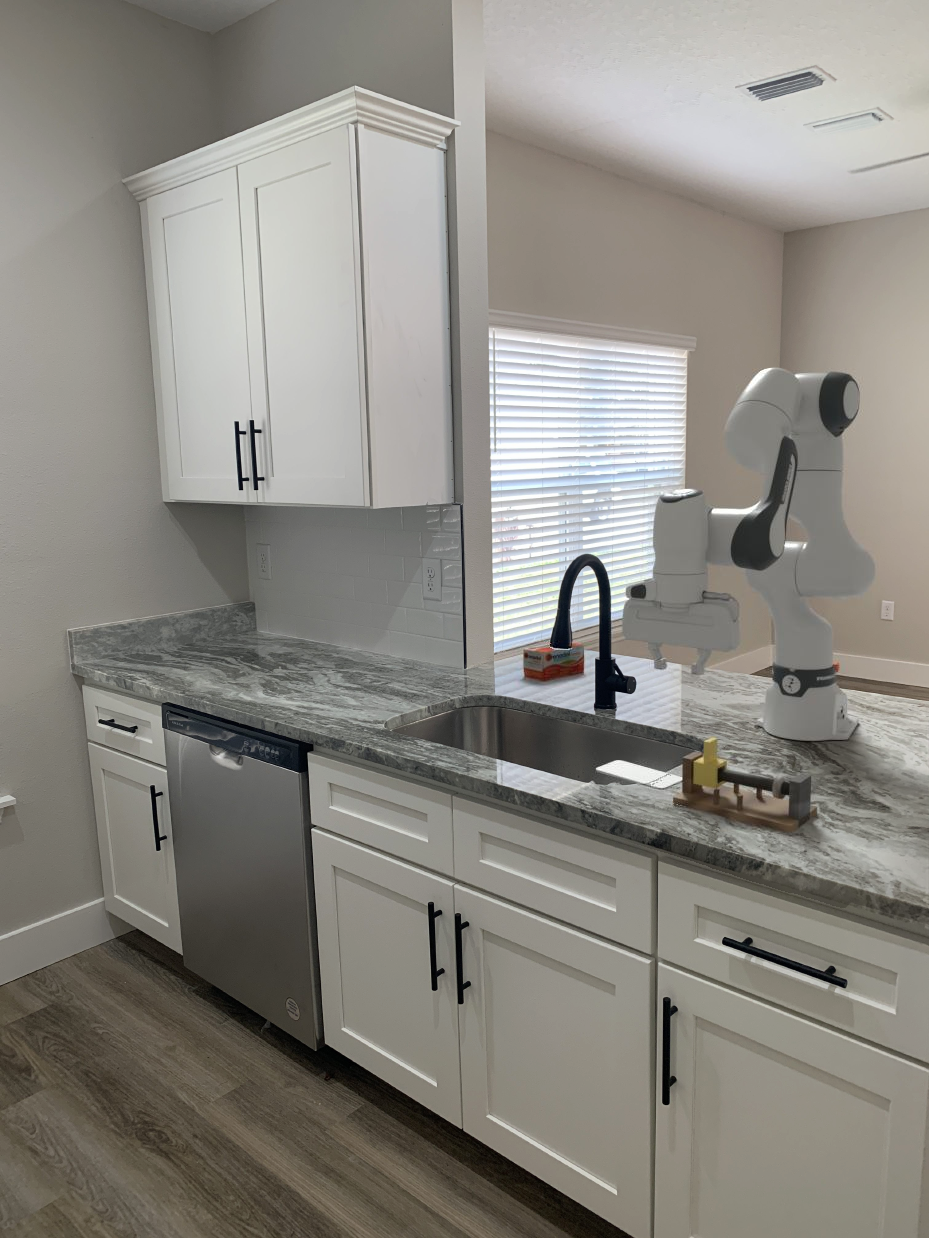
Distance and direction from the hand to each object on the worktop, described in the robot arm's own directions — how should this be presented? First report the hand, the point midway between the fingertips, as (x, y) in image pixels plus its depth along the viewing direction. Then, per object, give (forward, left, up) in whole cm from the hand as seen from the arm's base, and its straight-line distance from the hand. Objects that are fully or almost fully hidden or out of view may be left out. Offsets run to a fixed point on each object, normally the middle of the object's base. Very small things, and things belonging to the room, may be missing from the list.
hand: (678, 671), depth 157 cm
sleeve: (0, +6, -18) cm, 19 cm away
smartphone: (-4, -10, -22) cm, 24 cm away
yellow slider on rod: (0, +12, -21) cm, 24 cm away
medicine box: (-59, -70, -22) cm, 94 cm away
